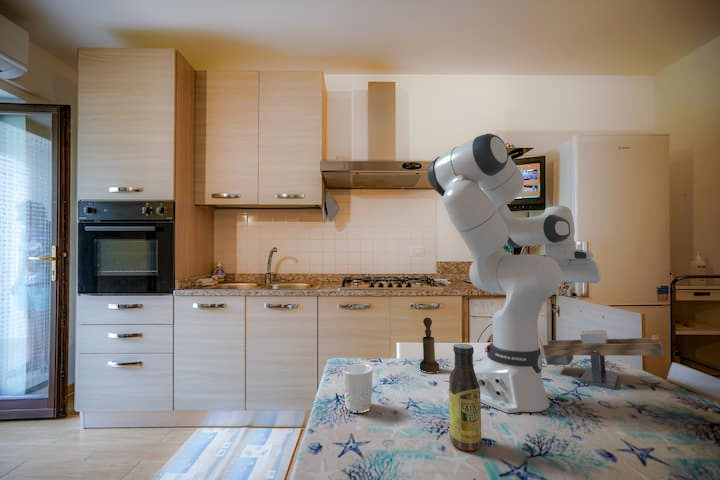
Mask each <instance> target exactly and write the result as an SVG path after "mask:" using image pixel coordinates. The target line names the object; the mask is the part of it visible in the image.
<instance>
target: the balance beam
mask: <svg viewBox="0 0 720 480" xmlns="http://www.w3.org/2000/svg"><path fill="white" fill-rule="evenodd" d="M608 339H609V343H610V344H583V343H582V339H561V340H559V339H557V340H556V339H555V340H552V339H551V340H548V341H547V343H548V344H543V345H542V348H543V353H544V357H545V361H546V364H547V365H549V366H550V365H551V366H555V365H556V366H569V365H570V364H571V362H572V361H573V360H574V356H591V354H590V352H591V351H594V352H599V354H600V355H605V356H624V357H625V356H630V357H631V356H634V357H636V356H637V357H638V356H639V357H641V356H643V357H644V356H650V357H651V356H652V357H653V356H655V357H656V356H661V357H662V356H665V352H664V347H663V344H662V341H661V340H662V339H661V338H660V335H659V334H652V335H651V337H643V338H640V337H638V338H637V337H636V338H631V337H630V338H608Z"/></svg>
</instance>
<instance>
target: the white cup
mask: <svg viewBox="0 0 720 480" xmlns="http://www.w3.org/2000/svg"><path fill="white" fill-rule="evenodd" d="M342 383H343V395H344V404H345V405H344V406H346V408H347V409H349V410H350V411H364V410H367V409H369V408H370V407H371V408H372V396H373V367H372V366H370V365H368V364H362V363H354V364H349V365H348V364H347V365H346V366H344V367H343V368H342ZM346 408H345V409H346Z"/></svg>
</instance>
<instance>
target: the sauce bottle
mask: <svg viewBox="0 0 720 480" xmlns="http://www.w3.org/2000/svg"><path fill="white" fill-rule="evenodd" d="M474 351H475V350H474V346H473V345H472V344H469V343H455V344H453V353H454V363H453V364H454V368H453V369H452V370H451V372H450V375H449V379H448V380H449V383H448V384H449V386H448V387H449V388H448V401H449V402H448V404H449V406H448V407H449V409H448V410H449V411H448V412H449V419H448V421H449V422H448V423H449V436H450V437H449V438H450V442H451V444H452V445H453V447H455V448H456V449H458V450H461V451H466V452H473V451H477V450H478V449H479V448H480V447H481V444H482V415H481V414H482V411H481V410H482V408H481V406H482V405H481V402H480V386H479V384H478V381H477V378H476V375H475V371H474V368H473V365H474V359H473V358H474Z"/></svg>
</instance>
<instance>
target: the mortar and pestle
mask: <svg viewBox="0 0 720 480" xmlns="http://www.w3.org/2000/svg"><path fill="white" fill-rule="evenodd" d="M422 321H423V325H424V327H425V330H424V334H425V336H422V350H423V351H422V352H423V353H422V354H423V355H422V356H423V360H421V361H420V363H419V370H420V369H421V370H423V371H426V372H437V371H439V372H440V363H439V362H437V360H436V357H435V355H436V354H435V337H434V336H432V330H431V326H432V325H433V320H432V318H431V317H425V318H423V320H422Z"/></svg>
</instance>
